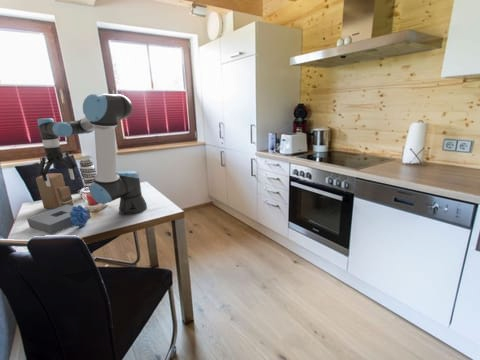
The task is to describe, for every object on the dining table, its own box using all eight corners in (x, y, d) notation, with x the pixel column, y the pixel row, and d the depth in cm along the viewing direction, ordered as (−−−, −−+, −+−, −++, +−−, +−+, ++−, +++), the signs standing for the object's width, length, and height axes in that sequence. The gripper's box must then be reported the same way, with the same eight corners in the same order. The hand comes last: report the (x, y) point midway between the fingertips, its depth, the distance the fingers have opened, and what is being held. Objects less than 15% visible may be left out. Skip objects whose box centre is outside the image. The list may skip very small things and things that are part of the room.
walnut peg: (74, 208, 154) (69, 186, 150) (66, 211, 150) (61, 188, 146) (69, 207, 156) (64, 185, 152) (62, 210, 152) (56, 188, 148)
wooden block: (70, 202, 164) (62, 172, 158) (58, 208, 154) (49, 177, 148) (56, 202, 165) (48, 173, 159) (43, 208, 155) (34, 177, 149)
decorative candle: (82, 195, 176) (74, 160, 169) (94, 191, 184) (86, 157, 177) (92, 196, 173) (83, 161, 165) (103, 192, 181) (96, 158, 174)
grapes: (82, 232, 124) (77, 209, 120) (69, 232, 124) (63, 210, 121) (96, 221, 135) (91, 200, 131) (84, 221, 135) (79, 200, 132)
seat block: (90, 217, 140) (88, 209, 139) (52, 234, 123) (49, 225, 122) (68, 212, 149) (66, 204, 147) (29, 227, 131) (26, 218, 130)
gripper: (70, 142, 154) (77, 176, 161) (22, 150, 133) (33, 188, 139) (78, 143, 151) (85, 177, 158) (30, 151, 130) (41, 190, 136)
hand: (61, 182), depth 148 cm, fingers open, 13 cm apart
